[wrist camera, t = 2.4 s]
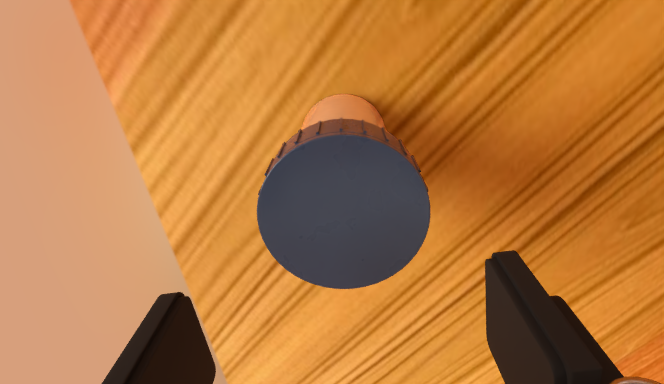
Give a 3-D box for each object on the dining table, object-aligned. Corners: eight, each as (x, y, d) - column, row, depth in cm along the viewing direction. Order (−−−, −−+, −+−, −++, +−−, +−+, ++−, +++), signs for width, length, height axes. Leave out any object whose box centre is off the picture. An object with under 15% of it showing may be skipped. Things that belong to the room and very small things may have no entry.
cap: (414, 104, 17) (425, 119, 14) (426, 248, 20) (437, 280, 17) (249, 130, 17) (235, 148, 15) (284, 266, 20) (276, 299, 18)
